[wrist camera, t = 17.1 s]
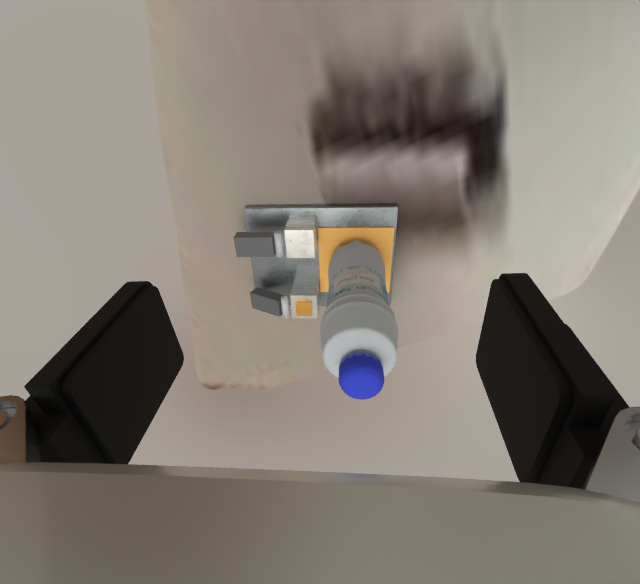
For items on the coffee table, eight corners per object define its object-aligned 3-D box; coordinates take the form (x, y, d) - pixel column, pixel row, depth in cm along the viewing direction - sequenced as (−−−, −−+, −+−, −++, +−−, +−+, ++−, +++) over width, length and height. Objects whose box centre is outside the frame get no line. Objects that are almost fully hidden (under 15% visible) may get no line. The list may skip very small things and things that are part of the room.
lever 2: (291, 295, 42) (284, 301, 41) (292, 313, 44) (286, 320, 43) (257, 285, 45) (249, 291, 44) (259, 303, 46) (252, 309, 45)
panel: (396, 204, 40) (403, 222, 36) (389, 301, 47) (393, 328, 43) (245, 205, 42) (232, 224, 37) (259, 300, 49) (250, 326, 44)
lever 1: (283, 230, 38) (281, 235, 37) (285, 252, 40) (283, 258, 39) (236, 230, 39) (233, 235, 38) (240, 252, 40) (237, 258, 39)
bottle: (385, 233, 41) (411, 354, 24) (384, 284, 45) (405, 421, 28) (326, 235, 42) (310, 355, 25) (329, 285, 45) (317, 420, 28)
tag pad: (394, 226, 41) (394, 227, 41) (389, 291, 45) (389, 292, 45) (318, 227, 41) (317, 228, 41) (320, 290, 46) (320, 292, 46)
